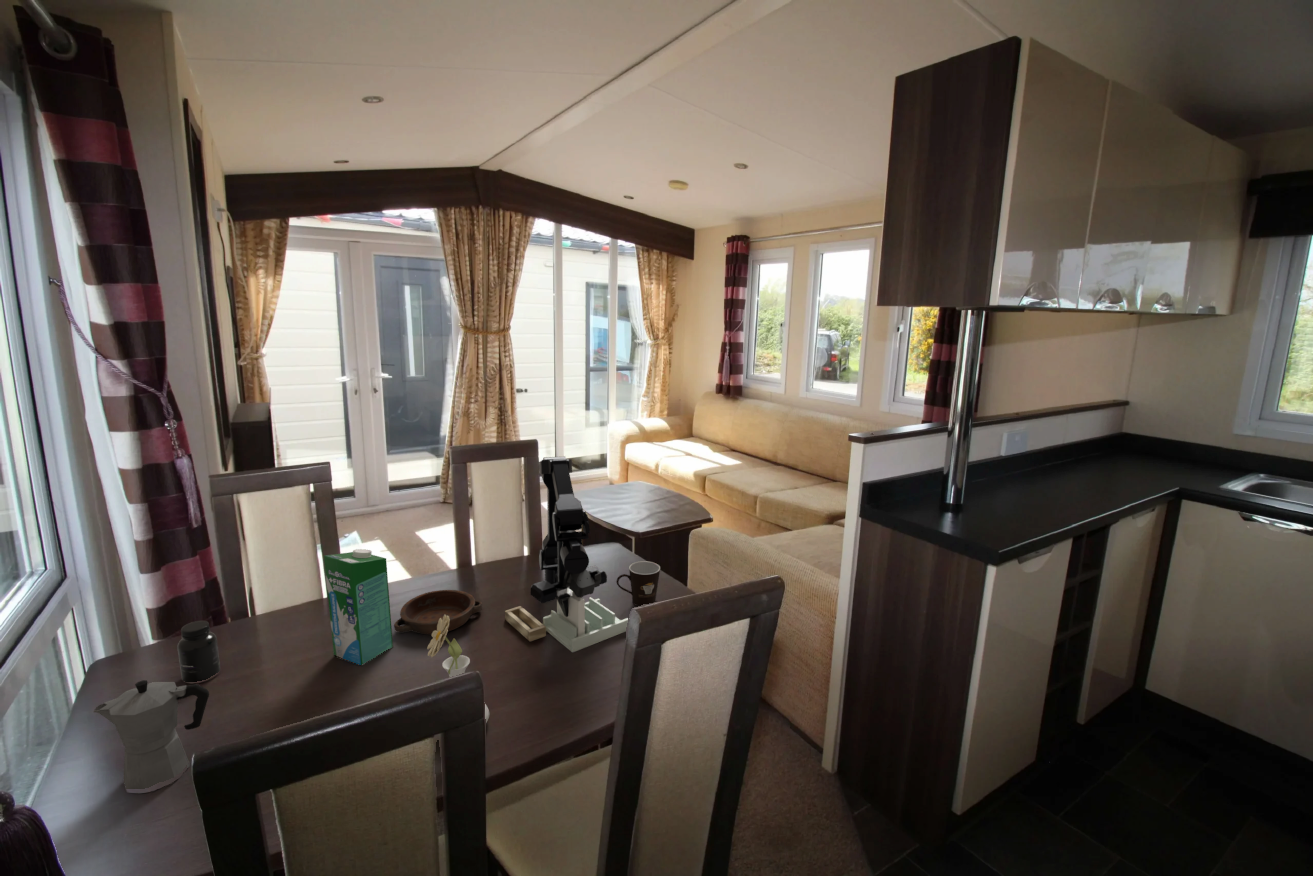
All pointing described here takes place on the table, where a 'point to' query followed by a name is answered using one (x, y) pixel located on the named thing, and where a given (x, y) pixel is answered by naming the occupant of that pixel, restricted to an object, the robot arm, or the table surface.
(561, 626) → the rack
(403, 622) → the dish
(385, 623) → the milk carton
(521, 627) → the stand
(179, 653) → the supplement bottle
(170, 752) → the coffeepot
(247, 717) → the table surface
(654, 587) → the coffee mug
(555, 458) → the robot arm
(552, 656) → the table surface
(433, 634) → the flower in vase
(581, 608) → the white slab
